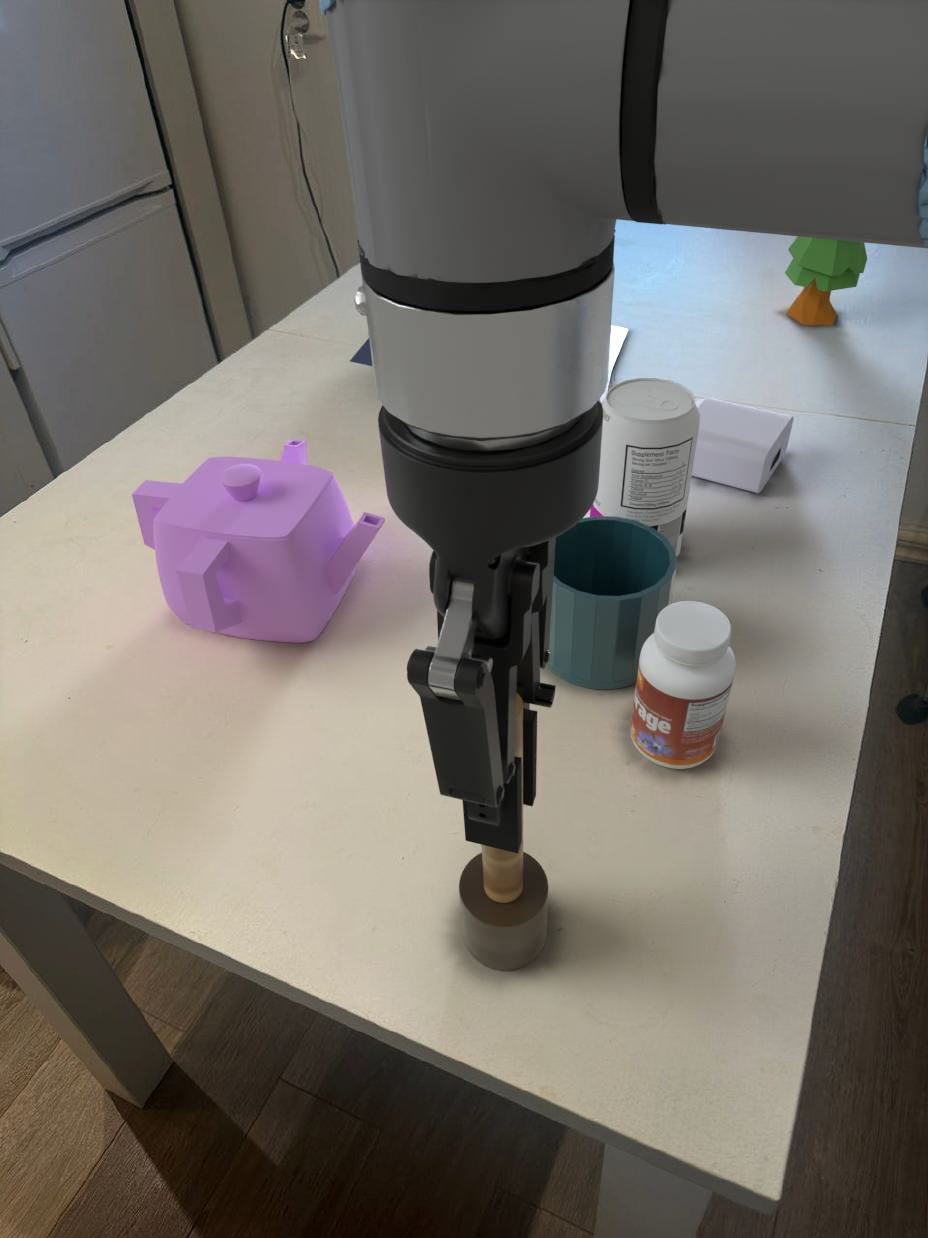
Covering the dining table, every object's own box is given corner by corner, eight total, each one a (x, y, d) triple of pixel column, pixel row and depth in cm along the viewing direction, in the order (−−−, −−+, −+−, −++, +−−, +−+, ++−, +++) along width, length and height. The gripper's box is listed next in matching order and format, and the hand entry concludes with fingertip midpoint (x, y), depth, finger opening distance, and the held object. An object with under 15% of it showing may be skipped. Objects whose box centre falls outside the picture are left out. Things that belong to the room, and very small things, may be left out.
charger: (649, 420, 96) (786, 453, 90) (614, 459, 90) (757, 498, 84) (653, 380, 93) (795, 411, 87) (617, 418, 87) (766, 455, 81)
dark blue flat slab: (407, 306, 119) (408, 280, 117) (624, 347, 115) (630, 320, 112) (344, 390, 102) (343, 361, 99) (596, 441, 98) (602, 412, 95)
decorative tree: (806, 297, 118) (864, 34, 98) (869, 316, 113) (944, 42, 93) (762, 318, 114) (814, 47, 94) (827, 340, 108) (896, 57, 88)
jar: (683, 676, 67) (699, 585, 61) (558, 700, 66) (561, 611, 60) (636, 594, 74) (646, 507, 68) (523, 615, 73) (523, 527, 67)
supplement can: (571, 558, 78) (579, 407, 68) (614, 513, 83) (627, 365, 73) (655, 589, 75) (675, 434, 65) (694, 539, 80) (719, 388, 70)
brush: (557, 960, 51) (569, 734, 37) (473, 980, 50) (454, 757, 37) (533, 885, 54) (537, 655, 41) (455, 902, 54) (432, 675, 40)
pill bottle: (614, 719, 64) (626, 605, 57) (689, 697, 65) (710, 582, 58) (655, 783, 60) (674, 669, 52) (734, 757, 61) (763, 642, 54)
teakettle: (149, 575, 79) (106, 458, 71) (320, 514, 85) (299, 399, 77) (208, 690, 68) (165, 566, 60) (401, 611, 74) (386, 488, 66)
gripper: (453, 296, 35) (475, 697, 51) (283, 509, 24) (377, 932, 40) (640, 311, 33) (603, 722, 49) (545, 549, 22) (536, 977, 38)
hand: (501, 816), depth 44 cm, fingers closed on brush, 2 cm apart
